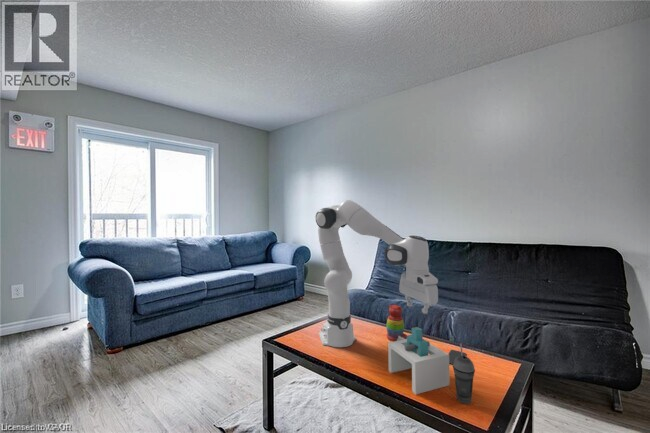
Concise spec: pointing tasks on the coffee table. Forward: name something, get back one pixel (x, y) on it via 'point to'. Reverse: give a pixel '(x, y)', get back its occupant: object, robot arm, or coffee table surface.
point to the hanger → (418, 342)
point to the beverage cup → (463, 378)
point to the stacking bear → (395, 324)
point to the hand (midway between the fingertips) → (416, 309)
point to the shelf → (420, 365)
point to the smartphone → (454, 355)
